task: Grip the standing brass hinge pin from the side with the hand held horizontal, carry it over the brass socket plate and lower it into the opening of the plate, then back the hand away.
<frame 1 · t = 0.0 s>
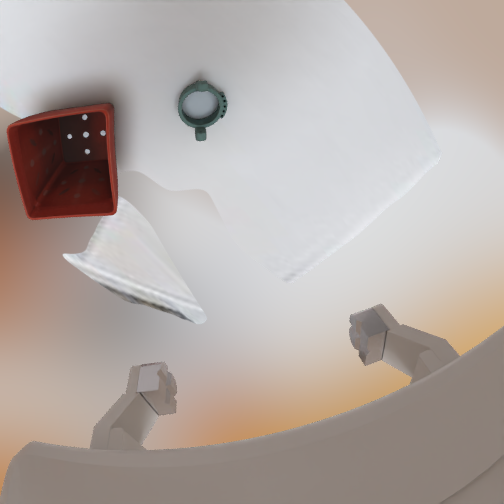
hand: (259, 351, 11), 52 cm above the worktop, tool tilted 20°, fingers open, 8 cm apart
bracket: (201, 101, 50), on the worktop
plant pot: (87, 133, 48), on the worktop
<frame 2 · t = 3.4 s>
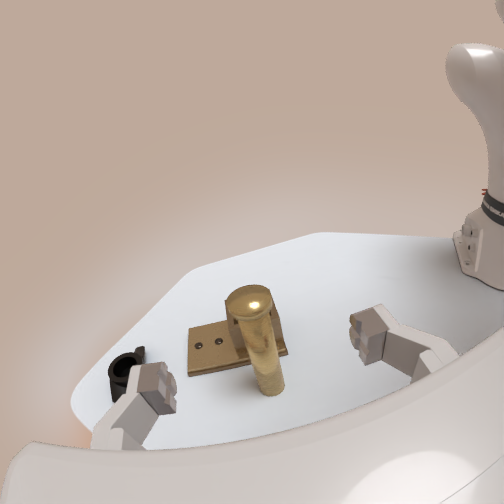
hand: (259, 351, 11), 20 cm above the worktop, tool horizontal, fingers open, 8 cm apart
hinge pin: (272, 386, 31), on the worktop
black ring with tabs: (134, 379, 36), on the worktop
brass socket plate: (258, 338, 39), on the worktop
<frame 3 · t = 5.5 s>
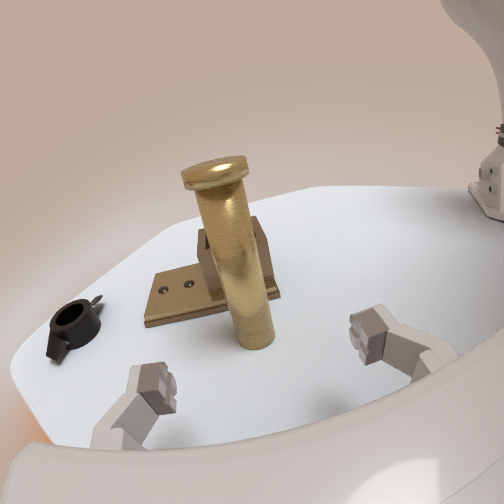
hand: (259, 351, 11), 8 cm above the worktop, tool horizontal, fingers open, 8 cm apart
hinge pin: (256, 336, 23), on the worktop
black ring with tabs: (82, 335, 27), on the worktop
brass socket plate: (241, 281, 31), on the worktop
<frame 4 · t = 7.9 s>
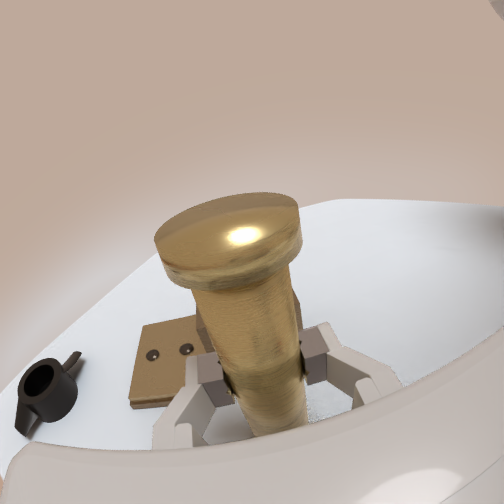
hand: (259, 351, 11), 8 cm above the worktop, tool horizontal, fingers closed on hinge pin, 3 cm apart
hinge pin: (284, 440, 14), on the worktop, touching gripper
black ring with tabs: (57, 401, 19), on the worktop
brass socket plate: (256, 344, 22), on the worktop
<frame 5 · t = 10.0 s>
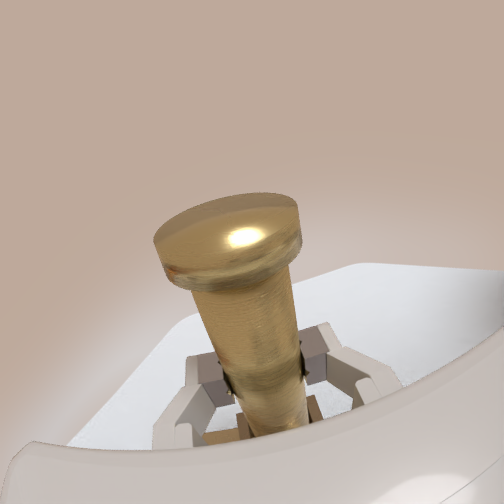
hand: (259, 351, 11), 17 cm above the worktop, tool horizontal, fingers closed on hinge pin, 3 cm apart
hinge pin: (285, 440, 14), point 9 cm above the worktop, touching gripper
brass socket plate: (290, 460, 20), on the worktop
when the fingers open (10 cm above the worktop, at t = 12.1 s): hinge pin drops 1 cm, resting on brass socket plate.
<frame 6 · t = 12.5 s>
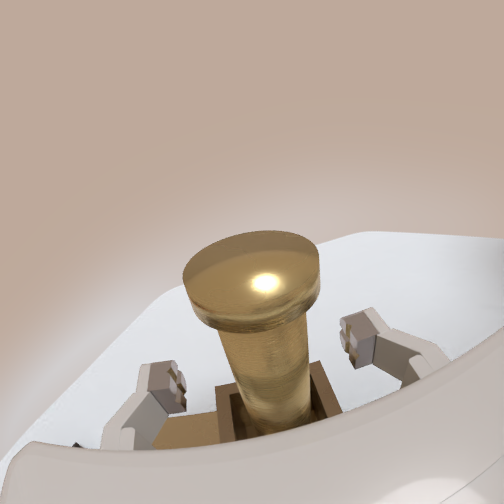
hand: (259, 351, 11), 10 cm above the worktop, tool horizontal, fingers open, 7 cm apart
hinge pin: (287, 448, 15), point 1 cm above the worktop, touching brass socket plate
brass socket plate: (289, 453, 15), on the worktop
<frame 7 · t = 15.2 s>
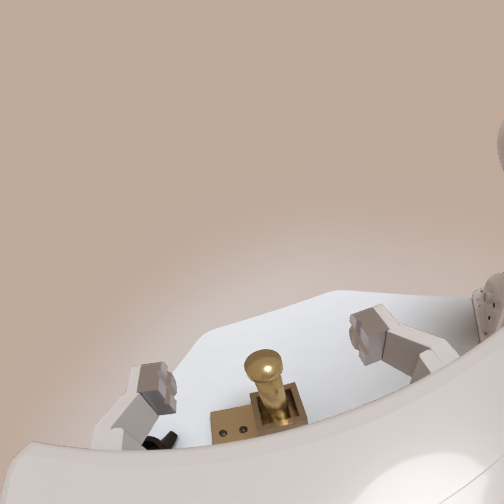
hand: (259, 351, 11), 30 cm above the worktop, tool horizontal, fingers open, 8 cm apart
hinge pin: (281, 421, 35), point 1 cm above the worktop, touching brass socket plate
black ring with tabs: (156, 459, 32), on the worktop
brass socket plate: (282, 424, 35), on the worktop
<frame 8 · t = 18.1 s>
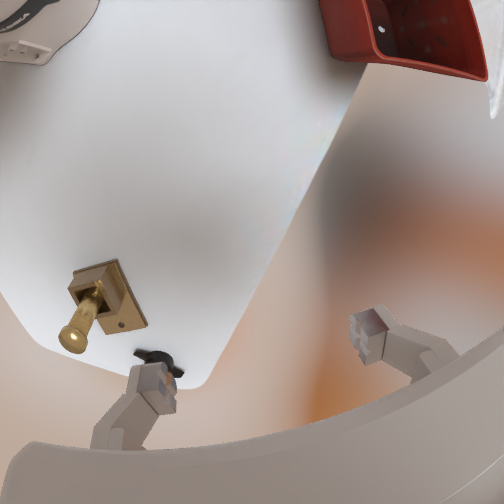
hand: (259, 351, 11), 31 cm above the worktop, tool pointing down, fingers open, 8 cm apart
hinge pin: (100, 285, 41), point 1 cm above the worktop, touching brass socket plate
plant pot: (358, 25, 30), on the worktop
black ring with tabs: (159, 359, 52), on the worktop
brass socket plate: (102, 282, 43), on the worktop
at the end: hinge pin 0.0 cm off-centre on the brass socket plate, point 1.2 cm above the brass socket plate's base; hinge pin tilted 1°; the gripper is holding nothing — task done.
